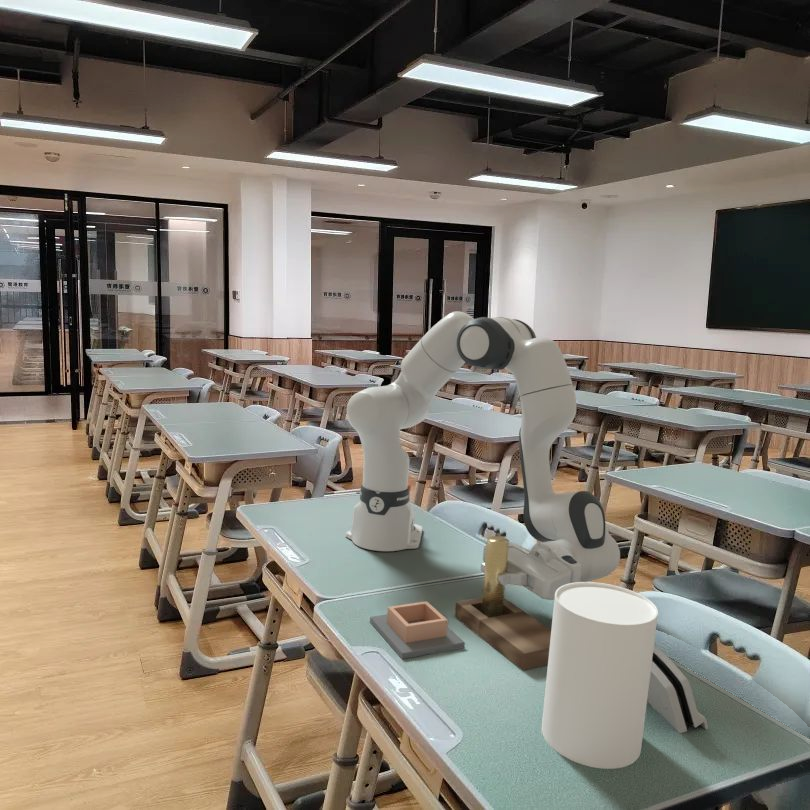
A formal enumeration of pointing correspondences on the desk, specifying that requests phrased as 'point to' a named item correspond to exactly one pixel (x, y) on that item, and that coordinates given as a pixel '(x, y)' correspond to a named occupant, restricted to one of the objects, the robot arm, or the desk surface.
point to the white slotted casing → (672, 694)
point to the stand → (416, 630)
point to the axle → (494, 576)
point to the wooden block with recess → (509, 632)
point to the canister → (598, 673)
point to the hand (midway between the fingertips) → (491, 573)
